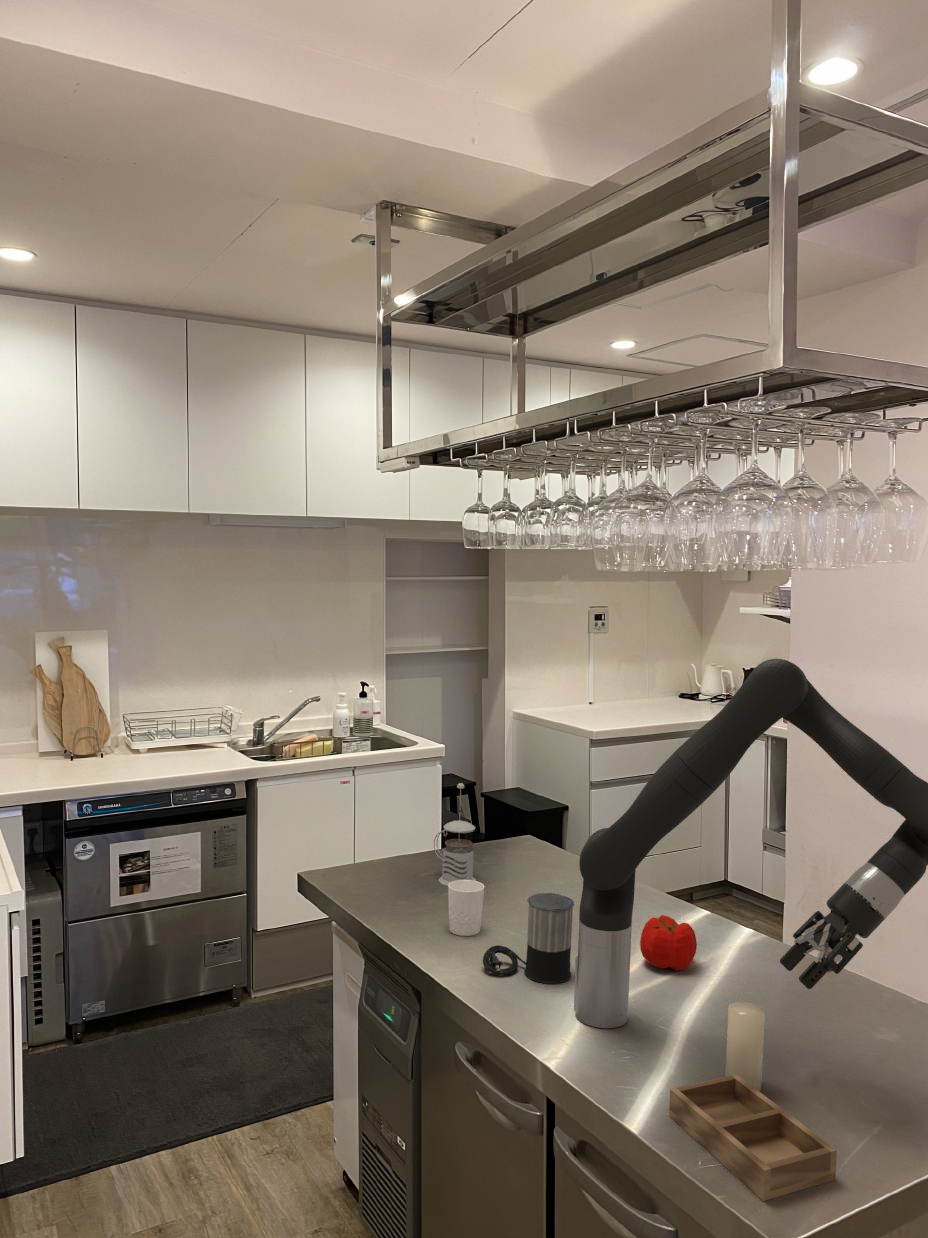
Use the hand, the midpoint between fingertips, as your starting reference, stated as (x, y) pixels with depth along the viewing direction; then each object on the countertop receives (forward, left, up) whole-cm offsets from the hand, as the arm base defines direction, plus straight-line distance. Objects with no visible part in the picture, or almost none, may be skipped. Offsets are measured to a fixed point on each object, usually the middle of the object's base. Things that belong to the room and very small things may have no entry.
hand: (793, 975), depth 146 cm
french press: (-107, -11, -18) cm, 109 cm away
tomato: (-45, +10, -18) cm, 50 cm away
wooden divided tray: (+10, -16, -18) cm, 26 cm away
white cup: (-75, -22, -18) cm, 80 cm away
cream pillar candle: (-3, -6, -18) cm, 19 cm away
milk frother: (-51, -19, -18) cm, 58 cm away
